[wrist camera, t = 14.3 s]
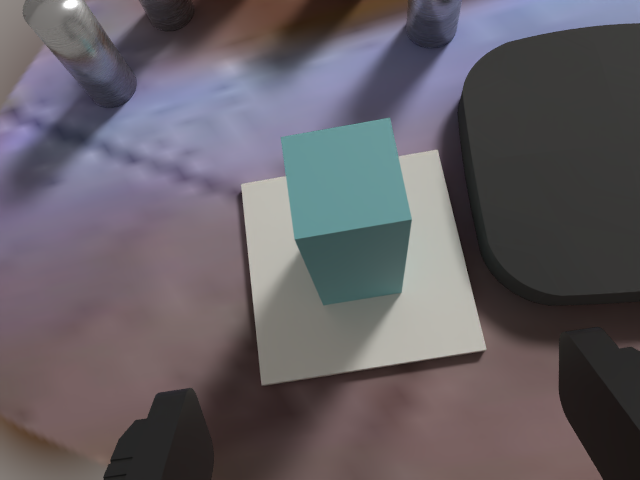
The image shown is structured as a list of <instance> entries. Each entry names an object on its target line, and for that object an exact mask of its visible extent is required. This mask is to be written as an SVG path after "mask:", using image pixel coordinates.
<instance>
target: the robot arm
mask: <svg viewBox="0 0 640 480" xmlns="http://www.w3.org/2000/svg"><path fill="white" fill-rule="evenodd" d="M559 396H560V401H561V404H562V408H563V411H564V413H565V415H566V418H567V419H568V421H569V423H570V424H571V426H572V428H573V430H574V431H575V433H576V435H577V436H578V438H579V440H580V441H581V443H582V445H583V446H584V448H585V450H586V451H587V453H588V455H589V456H590V458H591V460H592V461H593V463H594V465H595V466H596V468H597V470H598V471H599V473H600V475H601V476H602V478H603V480H640V351H638V350H636V349H634V348H633V347H627V348H621V349H619V348H618V346H617V345H616V344H615V343H614V342H613V341H612V339H611V338H610V337H609V336H608V335H607V334H606V332H605V331H604V330H603V329H602V328H600V327H594V328H587V329H581V330H574V331H568V332H563V333H561V335H560V339H559ZM213 464H214V453H213V445H212V440H211V437H210V434H209V431H208V428H207V425H206V422H205V419H204V416H203V413H202V410H201V407H200V404H199V401H198V398H197V395H196V393H195V391H194V390H193V389H192V388H187V389H181V390H174V391H167V392H161V393H158V394H157V395H156V396H155V398H154V401H153V403H152V406H151V409H150V412H149V414H148V417H147V419H141V420H135V421H134V423H133V424H132V425H131V426H130V427H129V428H128V429H127V431H126V432H125V433H124V434H123V435H122V436H121V438H120V439H119V440H118V443H117V445H116V448H115V450H114V453H113V455H112V457H111V464H109V465H108V467H107V470H106V472H105V474H104V477H103V478H104V480H211V477H212V472H213Z"/></svg>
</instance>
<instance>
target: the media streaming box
mask: <svg viewBox="0 0 640 480" xmlns="http://www.w3.org/2000/svg"><path fill="white" fill-rule="evenodd" d="M458 122H459V132H460V141H461V149H462V157H463V164H464V170H465V177H466V183H467V189H468V194H469V200H470V205H471V210H472V215H473V220H474V225H475V230H476V234H477V239H478V243H479V247H480V251H481V255H482V258H483V260H484V262H485V264H486V265H487V267H488V268H489V270H490V271H491V273H492V274H493V275H494V276H495V277H496V279H497V280H498V281H499V282H500V283H502V284H503V285H504V286H505V287H506V288H508V289H509V290H510V291H512V292H513V293H515V294H517V295H519V296H521V297H523V298H525V299H527V300H530V301H533V302H536V303H540V304H545V305H586V304H608V303H624V302H638V301H640V23H637V24H616V25H603V26H593V27H585V28H577V29H570V30H564V31H558V32H552V33H547V34H542V35H537V36H532V37H528V38H523V39H519V40H515V41H511V42H508V43H505V44H503V45H501V46H499V47H497V48H495V49H493V50H492V51H490V52H488V53H487V54H486V55H484V56H483V57H482V58H481V59H480V60H479V61H478V62H477V63H476V64H475V65H474V66H473V67H472V69H471V70H470V72H469V73H468V75H467V77H466V80H465V82H464V86H463V90H462V95H461V99H460V103H459V107H458Z"/></svg>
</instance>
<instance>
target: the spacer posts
mask: <svg viewBox="0 0 640 480" xmlns="http://www.w3.org/2000/svg"><path fill="white" fill-rule="evenodd" d="M139 1H140V3H141V5H142V7H143V9H144V10H145V12H146V14H147V16H148V18H149V19H150V21H151V23H152V24H153V25H154V26H155V27H156V28H158V29H160V30H164V31H172V30H176V29H179V28H181V27H183V26H184V25H186V24H187V23H188V22H189V21H190V19H191V18H192V16H193V13H194V5H193V2H192V0H139ZM461 3H462V0H408V12H407V34H408V36H409V38H410V39H411V40H412V41H413V42H414V43H416V44H417V45H419V46H422V47H426V48H436V47H440V46H443V45H445V44H447V43H448V42H449V41H451V40H452V38H453V37H454V36H455V33H456V30H457V24H458V19H459V13H460V8H461ZM23 17H24V19H25V21H26V22H27V23H28V24H29V26H30V27H31V28H32V29H33V30H34V32H35V33H36V34H37V35H38V36H39V37H40V39H41V40H42V41H43V42H44V43H45V45H46V46H47V47H48V48H49V49H50V50H51V52H52V53H53V54H54V55H55V56H56V57H57V59H58V60H59V61H60V62H61V63H62V64H63V66H64V67H65V68H66V69H67V70H68V71H69V73H70V74H71V75H72V76H73V77H74V78H75V80H76V81H77V82H78V83H79V84H80V86H81V87H82V88H83V89H84V90H85V91H86V93H87V94H88V95H89V96H90V97H91V98H92V100H93V101H94V102H95V103H96V104H98V105H99V106H102V107H116V106H119V105H121V104H123V103H125V102H126V101H128V100H129V99H130V98H131V96H132V95H133V94H134V92H135V89H136V85H137V81H136V77H135V75H134V73H133V72H132V71H131V69H130V68H129V66H128V65H127V63H126V62H125V60H124V59H123V57H122V56H121V54H120V53H119V51H118V50H117V49H116V47H115V46H114V44H113V43H112V41H111V40H110V38H109V37H108V35H107V34H106V32H105V31H104V29H103V28H102V26H101V25H100V24H99V22H98V21H97V19H96V18H95V16H94V15H93V13H92V12H91V10H90V9H89V7H88V6H87V4H86V3H85V1H84V0H26V1H25V3H24V6H23Z"/></svg>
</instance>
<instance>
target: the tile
mask: <svg viewBox="0 0 640 480" xmlns="http://www.w3.org/2000/svg"><path fill="white" fill-rule="evenodd" d="M398 157H399V162H400V167H401V171H402V176H403V180H404V185H405V190H406V194H407V199H408V204H409V208H410V213H411V217H412V222H411V229H410V237H409V244H408V251H407V258H406V265H405V272H404V279H403V287H402V293H397V294H391V295H384V296H378V297H372V298H366V299H360V300H354V301H348V302H342V303H336V304H329V305H323V303H322V301H321V299H320V297H319V294H318V292H317V290H316V287H315V285H314V283H313V281H312V278H311V276H310V274H309V271H308V269H307V267H306V265H305V262H304V260H303V258H302V255H301V253H300V251H299V249H298V246H297V244H296V242H295V239H294V232H293V225H292V217H291V210H290V202H289V195H288V187H287V180H286V176H284V177H279V178H273V179H267V180H262V181H256V182H250V183H245V184H241V188H242V198H243V208H244V218H245V228H246V237H247V247H248V257H249V267H250V277H251V287H252V297H253V306H254V316H255V326H256V336H257V346H258V356H259V366H260V375H261V385H262V386H266V385H273V384H279V383H285V382H292V381H298V380H305V379H311V378H317V377H324V376H330V375H336V374H343V373H349V372H356V371H362V370H368V369H375V368H381V367H387V366H394V365H400V364H406V363H413V362H419V361H426V360H432V359H438V358H445V357H451V356H457V355H464V354H470V353H476V352H483V351H485V350H486V346H485V342H484V338H483V334H482V329H481V325H480V321H479V317H478V313H477V309H476V305H475V301H474V297H473V293H472V289H471V285H470V280H469V276H468V272H467V268H466V264H465V260H464V256H463V252H462V248H461V244H460V240H459V235H458V231H457V227H456V223H455V219H454V215H453V211H452V207H451V203H450V199H449V195H448V191H447V186H446V182H445V178H444V174H443V170H442V166H441V162H440V158H439V154H438V150H432V151H427V152H421V153H415V154H410V155H404V156H398Z"/></svg>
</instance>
